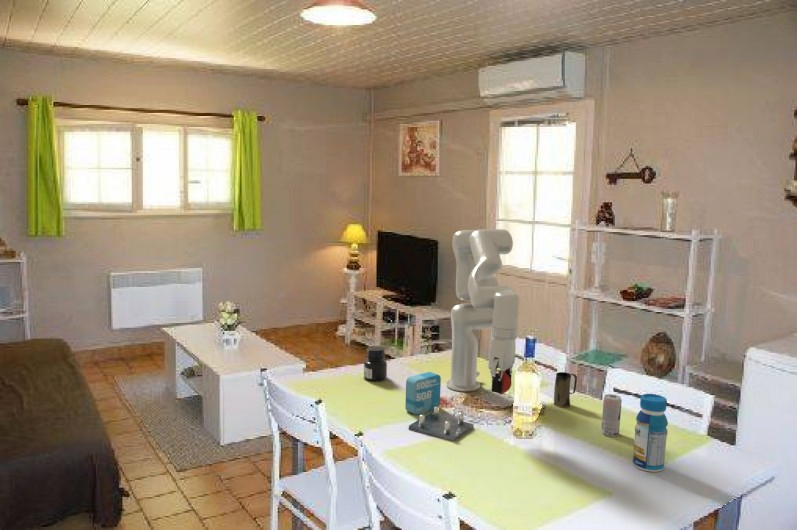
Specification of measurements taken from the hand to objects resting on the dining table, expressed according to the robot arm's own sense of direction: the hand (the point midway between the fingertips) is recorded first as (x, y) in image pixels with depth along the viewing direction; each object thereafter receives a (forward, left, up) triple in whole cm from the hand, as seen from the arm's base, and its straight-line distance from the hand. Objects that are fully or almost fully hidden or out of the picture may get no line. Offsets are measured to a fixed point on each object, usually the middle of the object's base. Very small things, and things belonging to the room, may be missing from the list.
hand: (501, 388), depth 201 cm
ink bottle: (-21, -62, -15) cm, 67 cm away
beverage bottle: (-3, +43, -15) cm, 46 cm away
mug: (-36, +8, -15) cm, 40 cm away
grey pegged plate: (+7, -17, -14) cm, 23 cm away
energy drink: (-20, +28, -15) cm, 38 cm away
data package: (-3, -30, -15) cm, 33 cm away
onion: (0, 0, -2) cm, 2 cm away
